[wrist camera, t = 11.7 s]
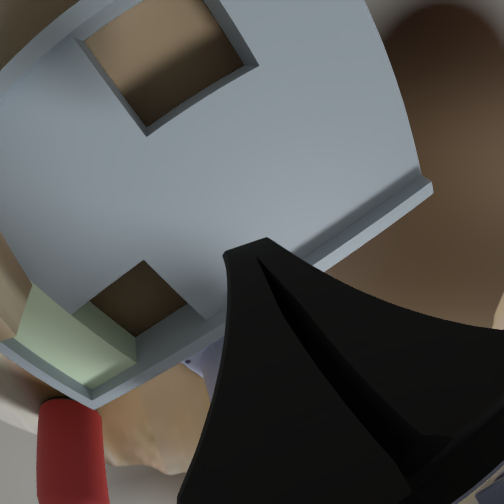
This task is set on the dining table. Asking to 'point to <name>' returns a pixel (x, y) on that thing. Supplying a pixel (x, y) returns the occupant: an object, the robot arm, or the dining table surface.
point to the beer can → (70, 454)
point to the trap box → (190, 178)
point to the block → (11, 291)
